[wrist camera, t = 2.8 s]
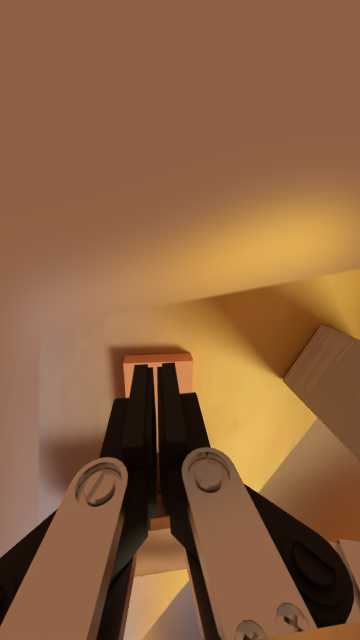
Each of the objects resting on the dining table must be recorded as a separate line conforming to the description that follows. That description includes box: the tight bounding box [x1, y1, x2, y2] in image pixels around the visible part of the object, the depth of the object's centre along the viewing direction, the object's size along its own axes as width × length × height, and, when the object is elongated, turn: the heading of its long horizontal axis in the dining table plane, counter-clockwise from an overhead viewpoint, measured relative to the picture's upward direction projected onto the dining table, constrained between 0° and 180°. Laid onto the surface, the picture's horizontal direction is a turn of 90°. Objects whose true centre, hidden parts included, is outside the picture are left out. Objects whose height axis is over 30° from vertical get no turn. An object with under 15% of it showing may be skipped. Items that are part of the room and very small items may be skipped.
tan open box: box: [134, 493, 187, 577], centre depth 27 cm, size 8×13×8 cm, turn 91°
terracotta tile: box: [123, 353, 193, 453], centre depth 26 cm, size 12×7×2 cm, turn 179°
